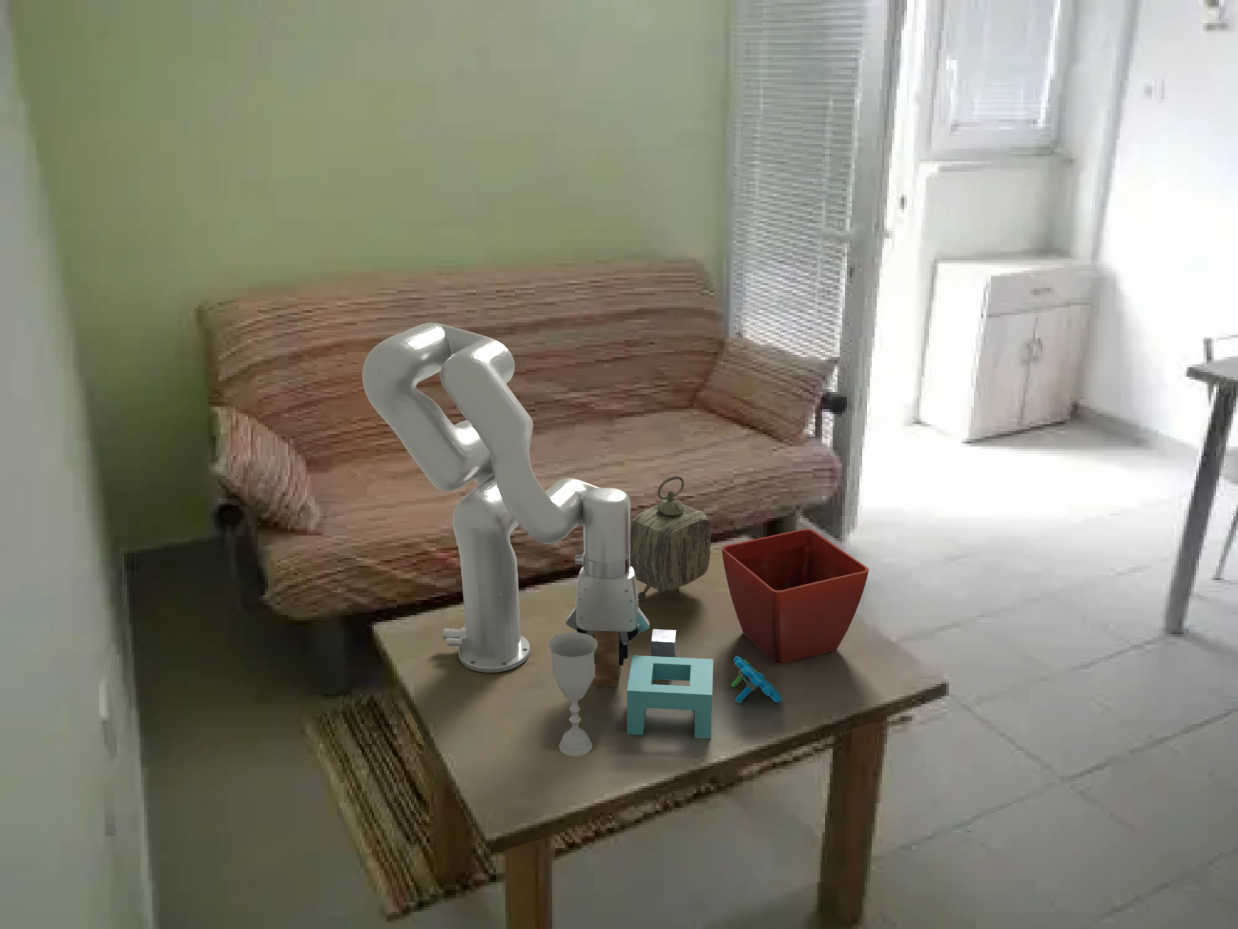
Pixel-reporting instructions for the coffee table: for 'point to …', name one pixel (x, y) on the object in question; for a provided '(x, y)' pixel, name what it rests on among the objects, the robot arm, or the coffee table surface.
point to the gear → (753, 681)
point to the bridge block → (670, 690)
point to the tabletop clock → (669, 544)
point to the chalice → (573, 682)
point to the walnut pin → (607, 658)
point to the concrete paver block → (663, 643)
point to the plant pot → (793, 593)
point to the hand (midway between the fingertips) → (608, 659)
